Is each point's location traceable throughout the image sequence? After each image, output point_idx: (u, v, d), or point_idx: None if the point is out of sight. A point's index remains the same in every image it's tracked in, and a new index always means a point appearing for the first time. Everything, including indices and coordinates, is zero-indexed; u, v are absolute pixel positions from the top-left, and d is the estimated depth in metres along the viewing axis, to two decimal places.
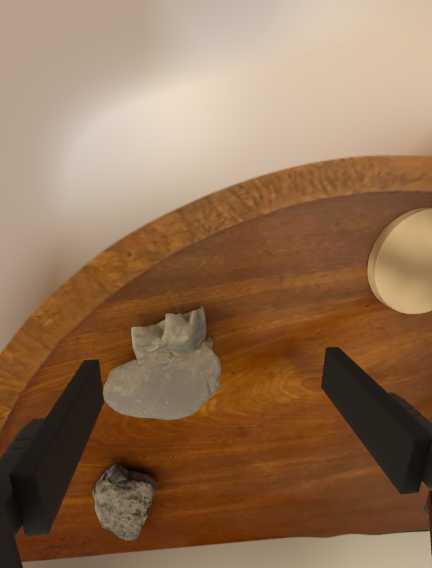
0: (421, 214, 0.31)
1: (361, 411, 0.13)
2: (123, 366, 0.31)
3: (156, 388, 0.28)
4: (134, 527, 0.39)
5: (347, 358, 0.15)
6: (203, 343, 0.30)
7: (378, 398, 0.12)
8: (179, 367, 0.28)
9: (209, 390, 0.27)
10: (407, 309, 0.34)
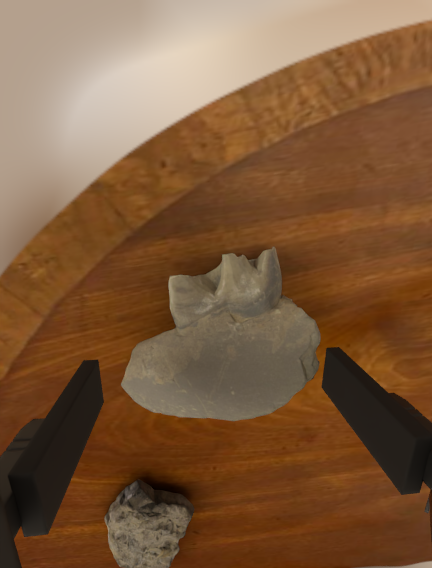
0: None
1: (361, 411, 0.13)
2: (155, 339, 0.20)
3: (213, 370, 0.17)
4: (161, 563, 0.29)
5: (348, 358, 0.15)
6: (282, 301, 0.19)
7: (379, 398, 0.12)
8: (251, 337, 0.18)
9: (304, 371, 0.16)
10: None
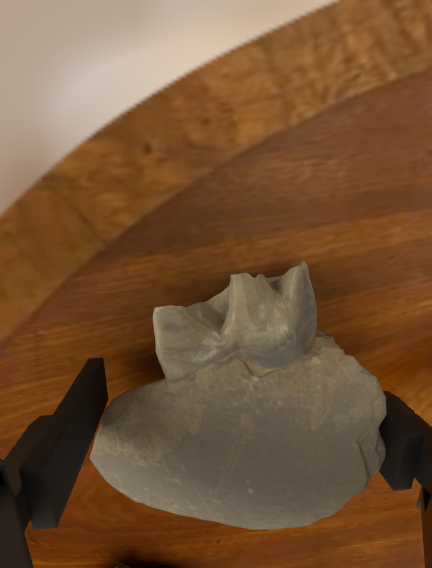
0: None
1: None
2: (135, 395, 0.14)
3: (220, 453, 0.11)
4: None
5: None
6: (320, 342, 0.13)
7: None
8: (276, 402, 0.12)
9: (365, 463, 0.10)
10: None
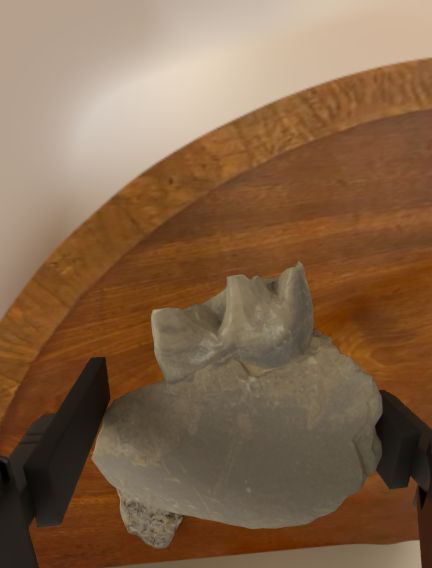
0: None
1: None
2: (136, 396, 0.14)
3: (219, 453, 0.12)
4: (166, 531, 0.32)
5: None
6: (316, 342, 0.13)
7: None
8: (273, 402, 0.12)
9: (361, 461, 0.10)
10: None
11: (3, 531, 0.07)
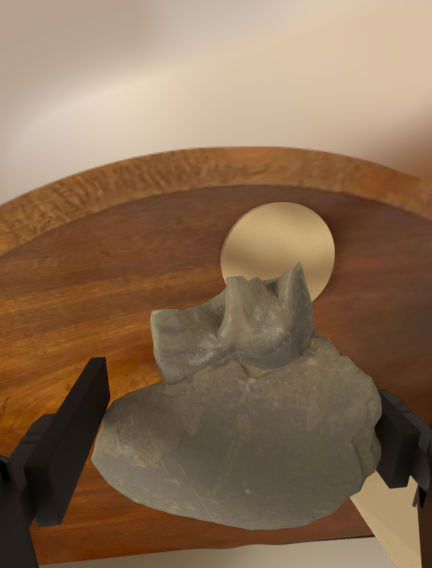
0: (263, 209, 0.29)
1: None
2: (135, 397, 0.14)
3: (218, 454, 0.12)
4: None
5: None
6: (316, 343, 0.13)
7: None
8: (273, 403, 0.12)
9: (360, 463, 0.10)
10: None
11: (3, 531, 0.07)
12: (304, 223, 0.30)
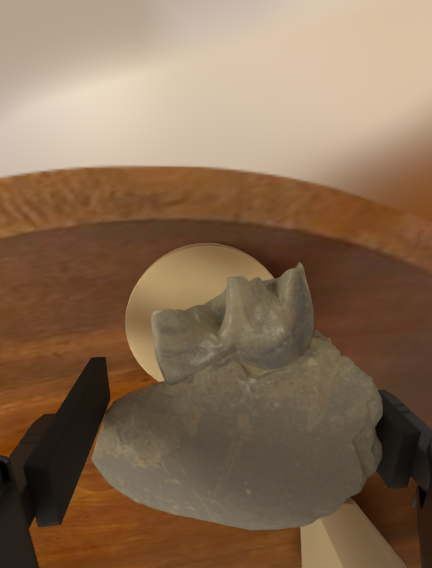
0: (180, 255, 0.20)
1: None
2: (135, 398, 0.14)
3: (218, 454, 0.12)
4: None
5: None
6: (317, 343, 0.13)
7: None
8: (273, 403, 0.12)
9: (361, 463, 0.10)
10: None
11: (3, 531, 0.07)
12: (240, 274, 0.21)
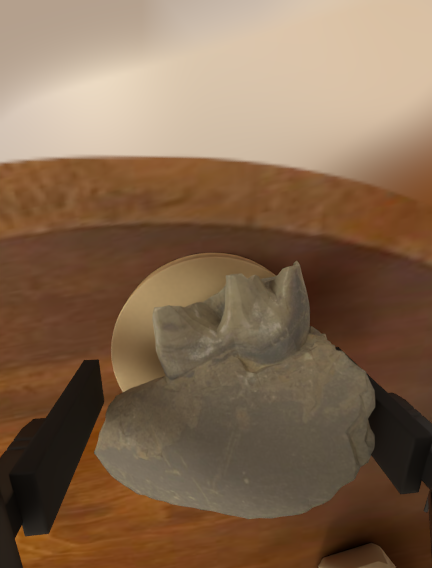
0: (179, 269, 0.16)
1: None
2: (137, 392, 0.15)
3: (218, 446, 0.12)
4: None
5: None
6: (312, 339, 0.13)
7: (378, 398, 0.12)
8: (270, 396, 0.12)
9: (354, 453, 0.11)
10: None
11: None
12: None
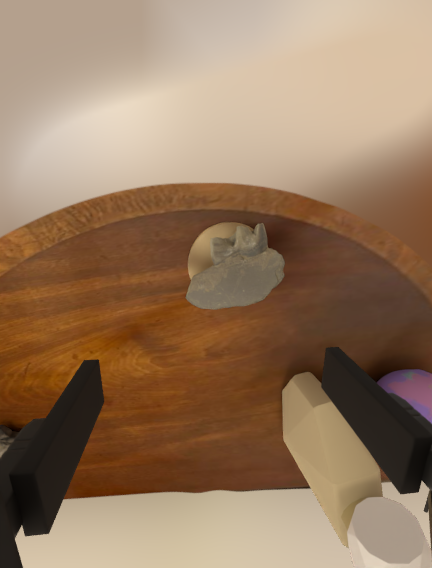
0: (217, 227, 0.40)
1: (361, 411, 0.13)
2: (203, 271, 0.39)
3: (234, 281, 0.36)
4: None
5: (347, 358, 0.15)
6: (267, 249, 0.38)
7: (378, 398, 0.12)
8: (251, 265, 0.36)
9: (277, 278, 0.35)
10: None
11: None
12: None
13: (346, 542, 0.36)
